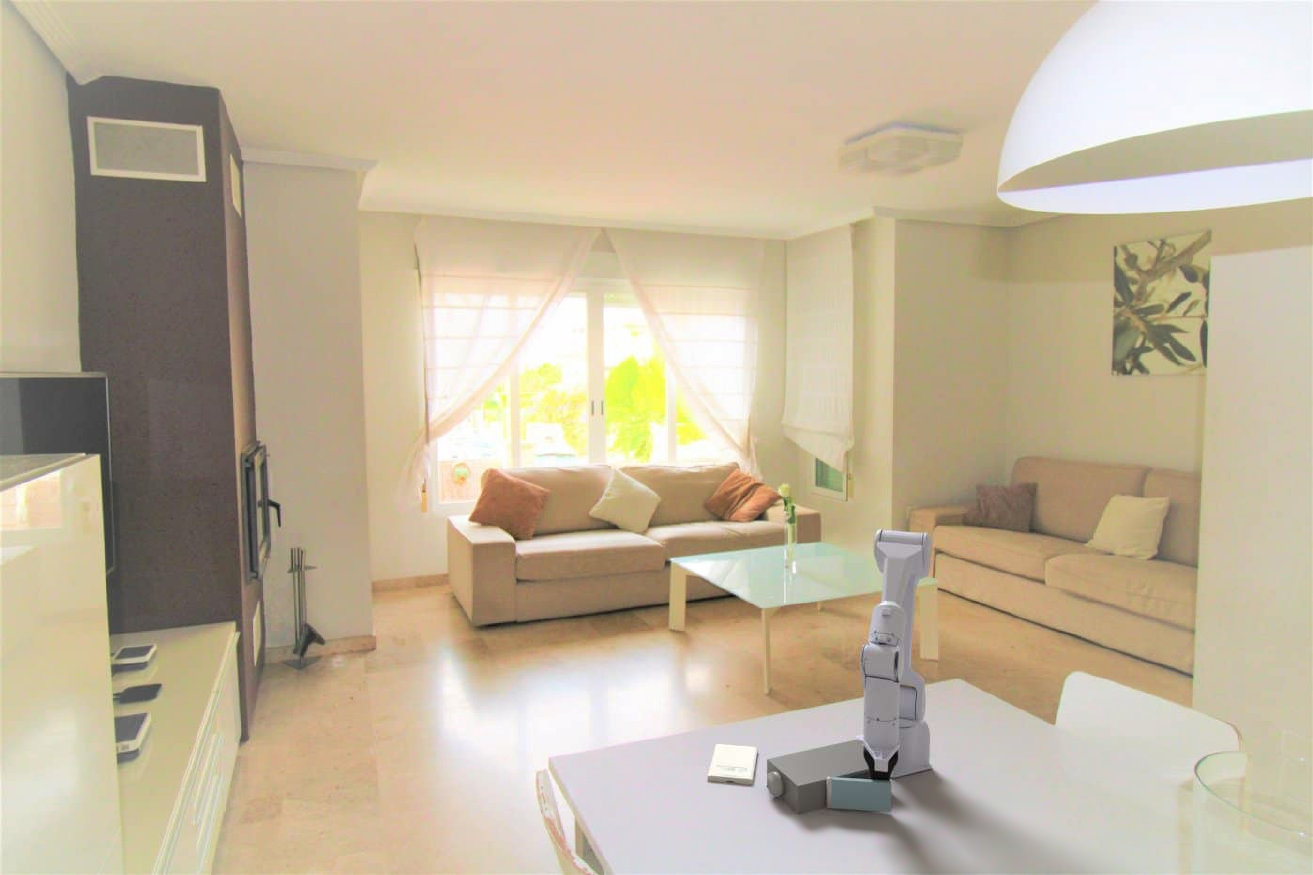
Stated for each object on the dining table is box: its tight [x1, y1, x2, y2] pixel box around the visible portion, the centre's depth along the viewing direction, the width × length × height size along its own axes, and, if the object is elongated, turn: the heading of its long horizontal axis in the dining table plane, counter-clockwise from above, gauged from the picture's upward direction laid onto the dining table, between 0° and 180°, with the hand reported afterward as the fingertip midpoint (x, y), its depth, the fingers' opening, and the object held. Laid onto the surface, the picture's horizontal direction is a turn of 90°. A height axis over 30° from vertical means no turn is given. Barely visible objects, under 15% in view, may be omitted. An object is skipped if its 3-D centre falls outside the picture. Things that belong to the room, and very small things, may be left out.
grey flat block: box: [766, 739, 871, 815], centre depth 140 cm, size 20×10×5 cm, turn 113°
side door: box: [826, 777, 892, 813], centre depth 133 cm, size 10×1×5 cm, turn 82°
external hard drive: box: [707, 743, 759, 785], centre depth 149 cm, size 2×8×12 cm
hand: (879, 792), depth 134 cm, fingers closed
